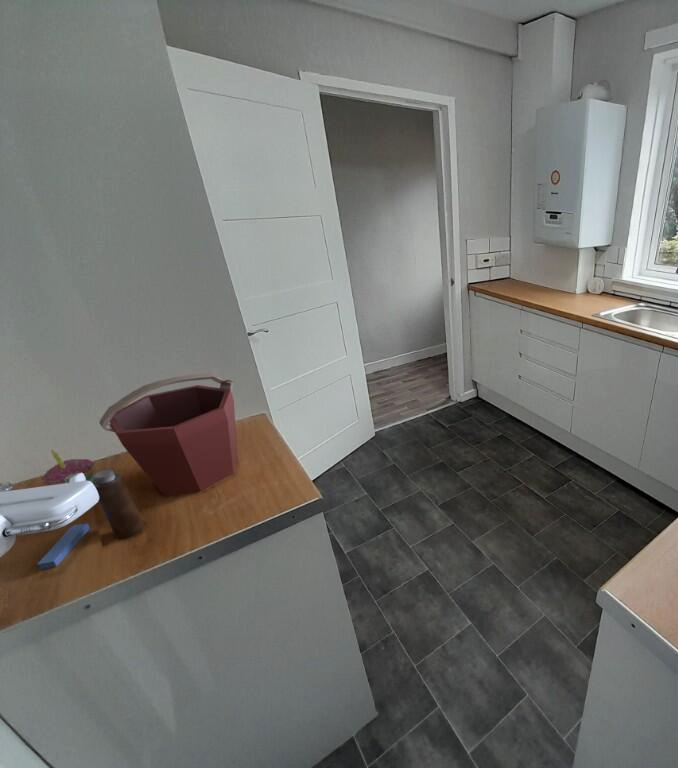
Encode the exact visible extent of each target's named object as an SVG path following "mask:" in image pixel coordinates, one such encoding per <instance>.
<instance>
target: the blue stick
mask: <svg viewBox="0 0 678 768" xmlns="http://www.w3.org/2000/svg"><path fill="white" fill-rule="evenodd" d="M90 529H91V528H90V526H89V524H88V523H86V522H85V523H80V524H74V525H71V526H70V528H68V530H67V531H66V532H65V533H64V534H63V535H62V536H61V537H60V538H59V539H58V540H57V542H56V543H55V544H54V545H53V546H52V547H51V549H49V550H48V551H47V553H46V554H45V555H44V556H43V557H42V558H41V559H40V560H39V561H38V562H37V564H36V566H37V567H38V569H39V570H40V571H41V570H45V569H51V568H56V567H58V565H60V563H62V561H63V560H64V559H65V558H66V556H67V555H69V553H70V552H71V551H72V550H73V548H75V546H76V545H77V544H78V543H79V542H80V541H81V539H82V538H83V537H84V536H85V535H86V534H87V533H88V531H89V530H90Z"/></svg>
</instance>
